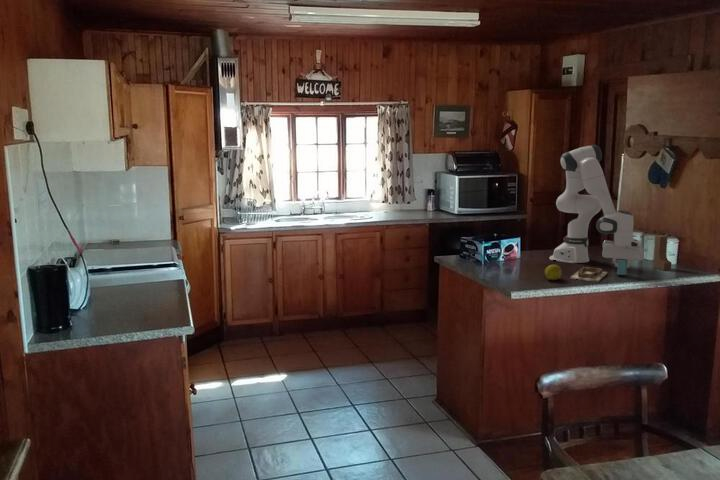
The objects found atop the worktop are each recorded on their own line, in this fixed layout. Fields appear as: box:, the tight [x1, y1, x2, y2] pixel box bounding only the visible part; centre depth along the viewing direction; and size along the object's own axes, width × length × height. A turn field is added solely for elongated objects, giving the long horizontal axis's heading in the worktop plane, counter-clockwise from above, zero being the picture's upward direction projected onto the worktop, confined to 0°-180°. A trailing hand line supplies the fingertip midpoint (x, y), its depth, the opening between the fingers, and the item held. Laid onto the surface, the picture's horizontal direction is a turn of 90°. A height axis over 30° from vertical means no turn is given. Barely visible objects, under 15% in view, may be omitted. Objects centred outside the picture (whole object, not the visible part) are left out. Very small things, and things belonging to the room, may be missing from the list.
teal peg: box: [616, 259, 628, 276], centre depth 331 cm, size 4×4×8 cm
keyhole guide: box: [569, 266, 608, 283], centre depth 331 cm, size 14×20×3 cm
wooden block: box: [653, 234, 672, 271], centre depth 343 cm, size 9×4×18 cm, turn 12°
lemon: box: [544, 264, 563, 281], centre depth 325 cm, size 11×8×8 cm
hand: (622, 267), depth 331 cm, fingers closed on teal peg, 4 cm apart
